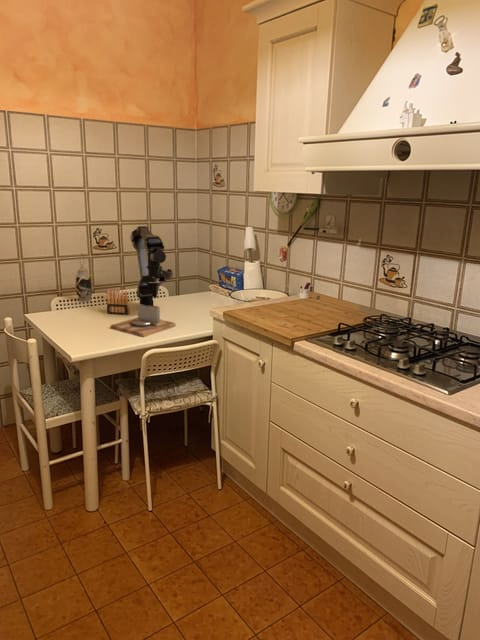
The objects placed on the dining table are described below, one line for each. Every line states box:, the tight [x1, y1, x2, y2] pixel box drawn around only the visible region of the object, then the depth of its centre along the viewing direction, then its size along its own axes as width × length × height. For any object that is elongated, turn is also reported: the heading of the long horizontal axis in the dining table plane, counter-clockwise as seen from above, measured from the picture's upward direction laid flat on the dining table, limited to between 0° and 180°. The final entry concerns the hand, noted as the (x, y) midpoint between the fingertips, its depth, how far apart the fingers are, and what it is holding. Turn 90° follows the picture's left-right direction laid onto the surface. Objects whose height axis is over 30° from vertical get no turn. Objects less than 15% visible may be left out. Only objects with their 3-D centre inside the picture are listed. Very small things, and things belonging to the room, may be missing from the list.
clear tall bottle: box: [75, 253, 93, 302], centre depth 260 cm, size 9×8×25 cm
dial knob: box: [132, 303, 161, 326], centre depth 216 cm, size 13×10×8 cm
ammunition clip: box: [106, 289, 130, 316], centre depth 237 cm, size 11×2×12 cm, turn 83°
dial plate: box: [110, 316, 177, 338], centre depth 218 cm, size 20×20×2 cm
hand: (155, 297), depth 229 cm, fingers closed
